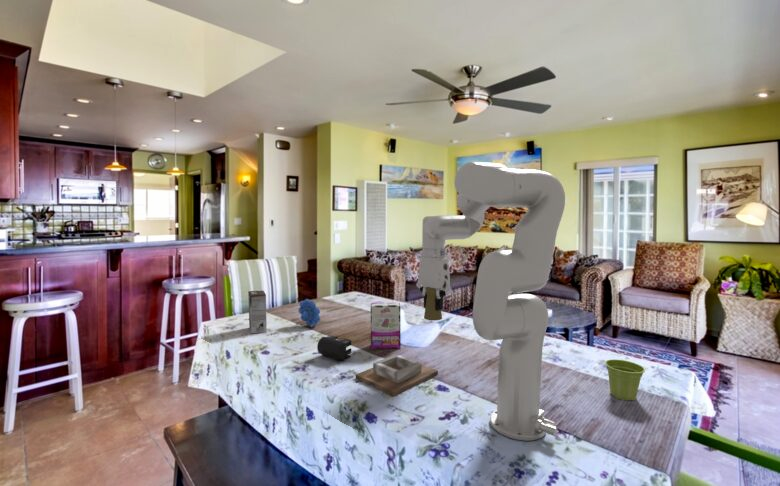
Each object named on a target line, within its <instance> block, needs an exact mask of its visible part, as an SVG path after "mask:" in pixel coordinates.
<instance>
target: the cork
mask: <svg viewBox="0 0 780 486" xmlns="http://www.w3.org/2000/svg"><path fill="white" fill-rule="evenodd" d="M425 291H426V294H427V300H426V307H425V308H424V314H423V318H424V320H427V321H440V320H442V319H443V314H442V310H438V311H436V310H435V299H436V298H437V295H436V289H434V288H431V287H426V289H425ZM440 293H441V290H440Z"/></svg>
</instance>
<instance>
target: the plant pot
mask: <svg viewBox="0 0 780 486" xmlns="http://www.w3.org/2000/svg"><path fill="white" fill-rule="evenodd" d="M604 364H605V366H606V370H607V373H608V381H609V382H608V383H609V391H610V393H609V394H611V395H612V396H613V397H614V398H616V399H617V400H618V399H619V400H622V401H635V400H636V399H637V394H638V390H639V387H640V383H641V378H642V377H643V374H644V373H645V372H646V368H645V367H644V366H642V365H640V364H638V363H636V362H633V361H628V360H624V359H607V360H605V362H604Z"/></svg>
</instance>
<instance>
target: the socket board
mask: <svg viewBox="0 0 780 486" xmlns="http://www.w3.org/2000/svg"><path fill="white" fill-rule="evenodd" d="M372 366H373V367H371V368H369V369H366V370H363V371H361V372H359V373H356V374H355V379H356V380H358V381H361V382H363V383H365V384H367V385H369V386H371V387H373V388H375V389H377V390H379V391H381V392H384V393H386V394H388V395H391V396H392V397H395V396H397V395H399V394H401V393H404V392H405V391H407V390H409V389H411V388H413V387H415V386H417V385H420V384H422V383H424V382H426V381H427V380H429V379H430V380H431V378H433V377H436V376H437V375H439V370H437V369H434V368H432V367H429V366H426V365H424V364H422V362H420V361H417V360H414V359H411V358H409V357H405V356H403V355H400V354H397V353H396V354H393V355H391V356H389V357H385V358H383V359H380V360H378V361H375V362H373V363H372Z"/></svg>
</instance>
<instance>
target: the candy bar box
mask: <svg viewBox="0 0 780 486" xmlns="http://www.w3.org/2000/svg"><path fill="white" fill-rule="evenodd" d="M401 344H402V343H401V304H400V302H371V303H370V349H371V350H372V349H373V350H375V349H376V350H384V349H385V350H391V349H395V350H396V349H401Z"/></svg>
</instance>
